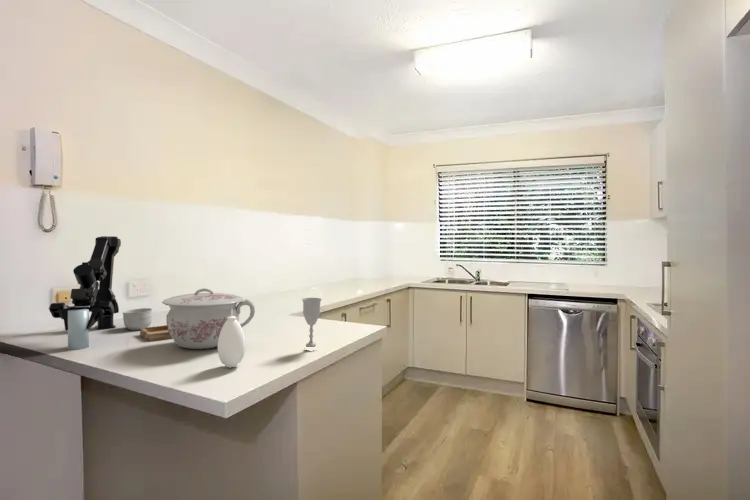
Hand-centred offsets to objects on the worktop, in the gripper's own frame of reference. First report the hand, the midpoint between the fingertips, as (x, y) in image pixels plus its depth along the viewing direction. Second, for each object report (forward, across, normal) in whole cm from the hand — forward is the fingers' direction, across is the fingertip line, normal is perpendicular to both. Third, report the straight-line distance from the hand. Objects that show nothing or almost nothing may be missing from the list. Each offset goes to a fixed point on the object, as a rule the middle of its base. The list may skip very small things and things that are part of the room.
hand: (76, 329), depth 144 cm
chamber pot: (+9, +41, +1) cm, 42 cm away
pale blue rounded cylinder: (+4, 0, +6) cm, 7 cm away
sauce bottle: (+30, +51, -20) cm, 62 cm away
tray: (-4, +24, +14) cm, 28 cm away
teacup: (-17, +14, +27) cm, 35 cm away
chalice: (+20, +77, -11) cm, 81 cm away
